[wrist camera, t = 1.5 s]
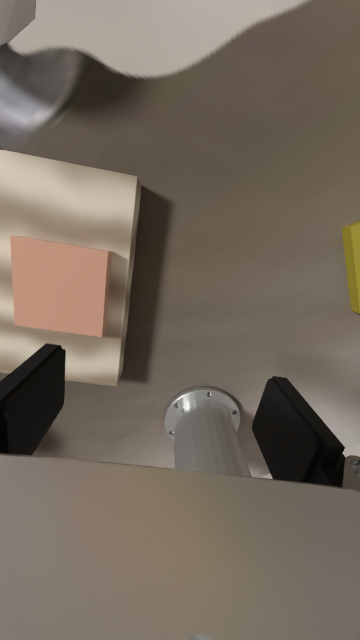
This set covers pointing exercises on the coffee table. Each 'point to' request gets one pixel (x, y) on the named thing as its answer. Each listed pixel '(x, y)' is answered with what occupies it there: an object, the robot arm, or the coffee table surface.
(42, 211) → the platform
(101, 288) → the coaster
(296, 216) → the coffee table surface
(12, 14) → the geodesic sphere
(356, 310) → the flat olive board
